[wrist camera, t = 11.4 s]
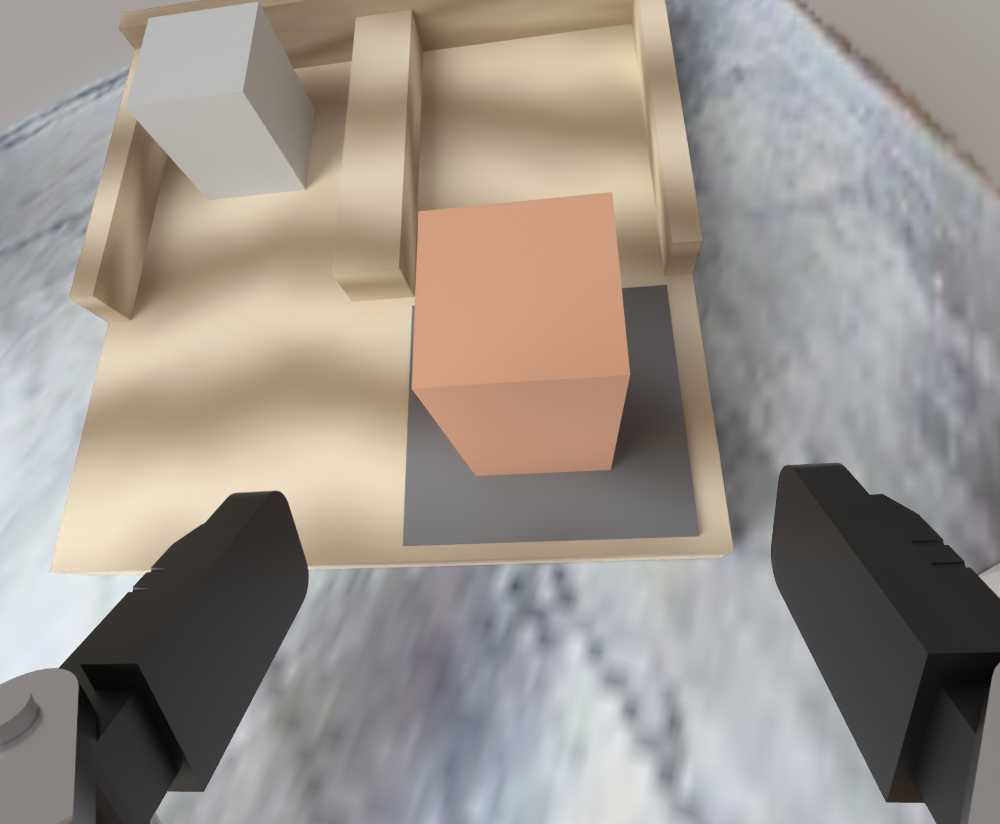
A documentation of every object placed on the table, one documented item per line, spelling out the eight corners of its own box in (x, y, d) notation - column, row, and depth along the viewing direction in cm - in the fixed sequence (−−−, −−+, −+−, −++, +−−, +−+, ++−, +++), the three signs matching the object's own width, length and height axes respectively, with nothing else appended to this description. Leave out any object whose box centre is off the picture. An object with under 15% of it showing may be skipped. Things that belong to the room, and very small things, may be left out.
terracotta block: (610, 470, 19) (630, 375, 12) (475, 476, 20) (411, 388, 12) (600, 346, 21) (612, 191, 13) (475, 355, 21) (418, 211, 14)
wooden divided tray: (719, 557, 20) (761, 539, 15) (93, 575, 23) (-34, 565, 18) (647, 45, 28) (661, -70, 23) (193, 104, 31) (123, 12, 26)
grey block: (305, 189, 25) (242, 91, 20) (208, 200, 26) (125, 107, 21) (315, 109, 27) (258, 1, 22) (223, 121, 27) (148, 18, 22)
